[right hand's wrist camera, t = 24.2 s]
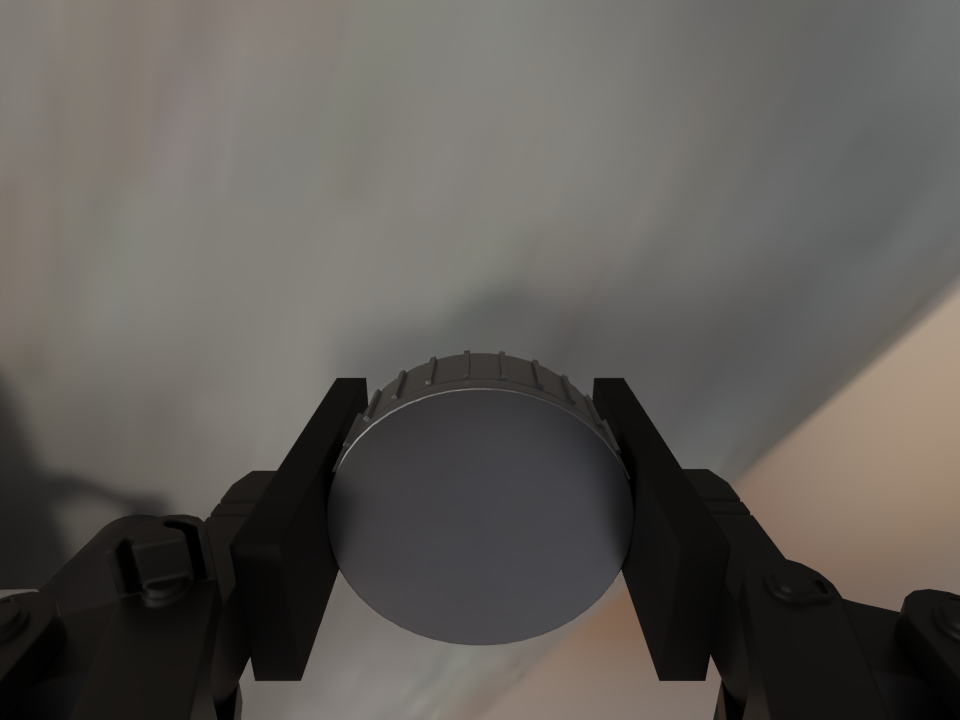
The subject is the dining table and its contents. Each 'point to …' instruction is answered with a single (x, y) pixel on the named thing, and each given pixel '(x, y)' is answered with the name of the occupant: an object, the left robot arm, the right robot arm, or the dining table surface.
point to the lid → (480, 501)
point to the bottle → (90, 571)
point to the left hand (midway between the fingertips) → (67, 710)
